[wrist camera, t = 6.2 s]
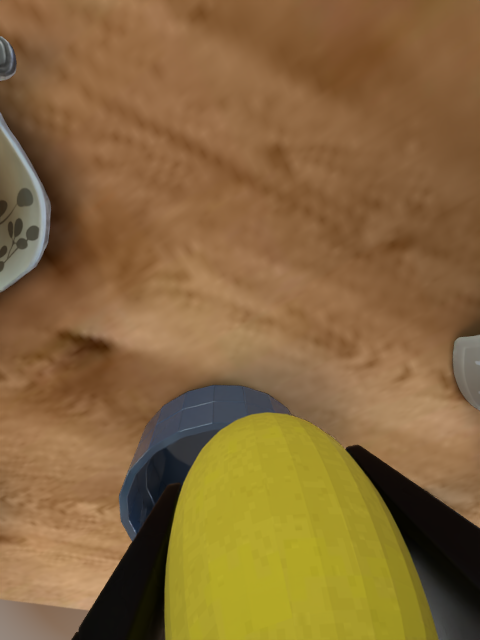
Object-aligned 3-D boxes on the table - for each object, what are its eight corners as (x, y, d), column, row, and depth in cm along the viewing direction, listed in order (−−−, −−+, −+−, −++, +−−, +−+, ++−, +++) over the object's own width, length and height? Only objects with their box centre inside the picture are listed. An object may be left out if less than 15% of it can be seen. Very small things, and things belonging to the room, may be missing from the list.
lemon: (212, 496, 11) (201, 1077, 3) (166, 393, 9) (-70, 1105, 2) (332, 460, 11) (597, 958, 3) (309, 350, 9) (746, 862, 2)
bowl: (332, 439, 24) (360, 487, 19) (232, 532, 27) (235, 594, 22) (210, 350, 20) (207, 382, 16) (107, 468, 23) (77, 527, 18)
